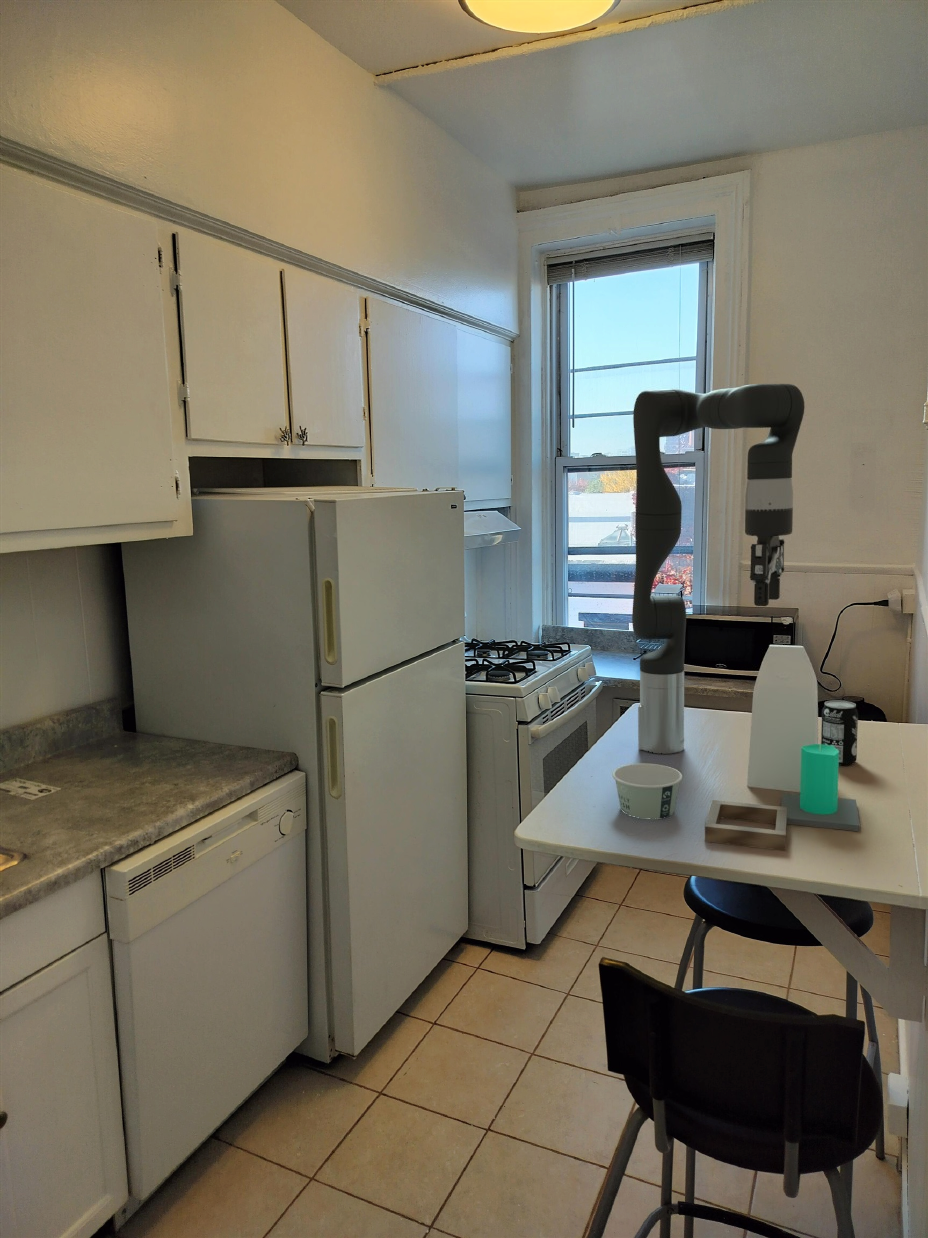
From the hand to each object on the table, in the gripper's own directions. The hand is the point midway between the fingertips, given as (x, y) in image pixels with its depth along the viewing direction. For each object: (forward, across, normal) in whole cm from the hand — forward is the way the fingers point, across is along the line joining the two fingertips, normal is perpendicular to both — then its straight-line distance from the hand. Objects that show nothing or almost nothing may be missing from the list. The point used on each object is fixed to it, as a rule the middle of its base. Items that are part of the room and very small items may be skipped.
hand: (767, 602), depth 143 cm
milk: (+36, +14, 0) cm, 39 cm away
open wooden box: (+36, -13, 0) cm, 38 cm away
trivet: (+36, 0, -9) cm, 37 cm away
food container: (+36, -11, +17) cm, 42 cm away
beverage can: (+36, +30, -8) cm, 48 cm away
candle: (+35, 0, -9) cm, 36 cm away
